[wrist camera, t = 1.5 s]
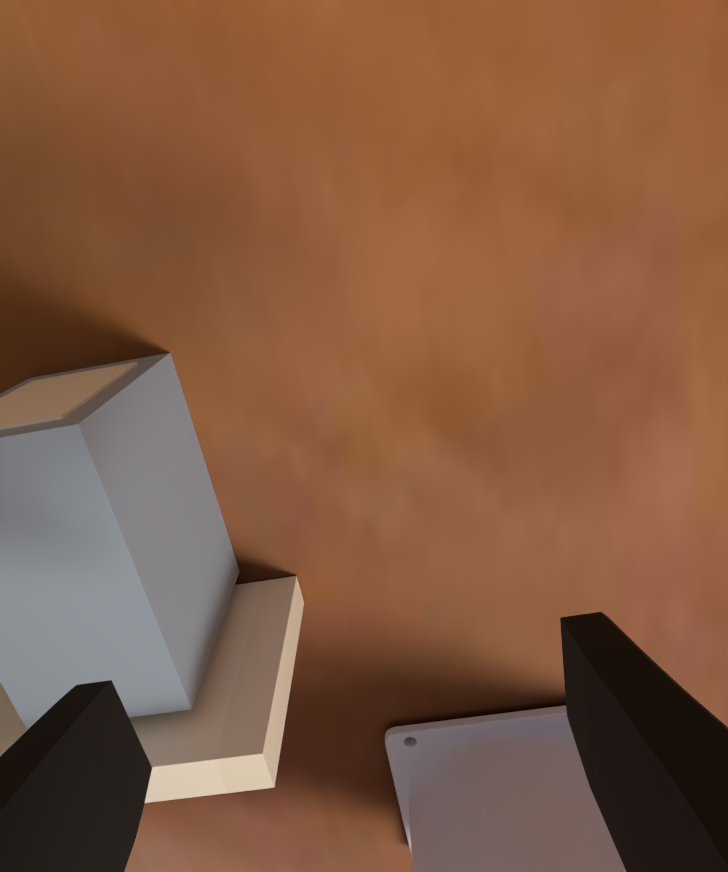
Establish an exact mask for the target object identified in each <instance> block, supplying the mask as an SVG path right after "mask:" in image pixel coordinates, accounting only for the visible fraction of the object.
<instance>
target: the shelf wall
mask: <svg viewBox="0 0 728 872" xmlns="http://www.w3.org/2000/svg"><path fill="white" fill-rule="evenodd" d="M303 607H304V601H303V597H302V594H301V590H300V586H299V583H298V579H297V576H292V577H286V578H279V579H272V580H265V581H258V582H252V583H245V584H238V585H235V586H234V589H233V592H232V595H231V598H230V601H229V604H228V607H227V609H226V612H225V615H224V618H223V621H222V624H221V627H220V630H219V633H218V635H217V638H216V641H215V644H214V647H213V650H212V653H211V656H210V659H209V661H208V664H207V667H206V670H205V673H204V676H203V679H202V682H201V685H200V687H199V690H198V693H197V696H196V699H195V702H194V705H193V708H192V709H191V710H183V711H176V712H168V713H160V714H153V715H145V716H138V717H130V718H129V719H130V721H131V723H132V725H133V727H134V730H135V732H136V734H137V736H138V738H139V740H140V743H141V745H142V747H143V749H144V751H145V753H146V756H147V758H148V760H149V762H150V764H151V766H152V771H151V776H150V780H149V785H148V789H147V794H146V798H145V803H149V802H157V801H166V800H174V799H182V798H191V797H199V796H208V795H216V794H224V793H233V792H241V791H250V790H258V789H266V788H275V781H276V775H277V769H278V763H279V756H280V750H281V744H282V738H283V731H284V725H285V719H286V713H287V707H288V700H289V694H290V688H291V682H292V675H293V669H294V663H295V657H296V650H297V644H298V638H299V632H300V625H301V619H302V613H303ZM26 731H27V729H26V727H25V725H24V724H23V722H22V720H21V718H20V716H19V715H18V713H17V711H16V709H15V707H14V706H13V704H12V702H11V700H10V698H9V697H8V695H7V693H6V691H5V689H4V688H3V686H2V684H1V682H0V756H1V755H2V754H3V753H4V752H5V751H6V750H7V749H8V748H9V747H10V746H12V745H13V744H14V743H15V742H16V741H17V740H18V739H19V738H20V737H21V736H22V735H23V734H24V733H25V732H26Z"/></svg>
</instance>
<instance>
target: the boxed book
mask: <svg viewBox="0 0 728 872" xmlns="http://www.w3.org/2000/svg"><path fill="white" fill-rule="evenodd" d="M239 572H240V571H239V568H238V565H237V561H236V558H235V555H234V552H233V549H232V546H231V542H230V539H229V536H228V533H227V530H226V527H225V524H224V520H223V517H222V514H221V511H220V508H219V505H218V502H217V498H216V495H215V492H214V489H213V486H212V483H211V479H210V476H209V473H208V470H207V467H206V464H205V461H204V457H203V454H202V451H201V448H200V445H199V442H198V438H197V435H196V432H195V429H194V426H193V423H192V420H191V416H190V413H189V410H188V407H187V404H186V401H185V398H184V394H183V391H182V388H181V385H180V382H179V379H178V375H177V372H176V369H175V366H174V363H173V360H172V357H171V353H165V354H160V355H154V356H149V357H143V358H138V359H132V360H127V361H121V362H116V363H110V364H105V365H99V366H93V367H88V368H82V369H77V370H71V371H66V372H60V373H55V374H49V375H44V376H38V377H33V378H29V379H27V380H25V381H23V382H21V383H19V384H17V385H15V386H13V387H12V388H10V389H8V390H6V391H4V392H2V393H0V682H1V684H2V686H3V688H4V689H5V691H6V693H7V695H8V697H9V698H10V700H11V702H12V704H13V706H14V707H15V709H16V711H17V713H18V715H19V716H20V718H21V720H22V722H23V724H24V725H25V727H26V729H27V730H28V729H29V728H30V727H31V726H32V725H33V724H34V723H35V722H36V721H37V720H38V719H39V718H41V717H42V716H43V715H44V714H45V713H46V712H47V711H48V710H49V709H50V708H51V707H52V706H53V705H54V704H55V703H56V702H58V701H59V700H60V699H61V698H62V697H63V696H64V695H65V694H66V693H68V692H69V691H70V690H71V689H72V688H73V687H74V686H76V685H80V684H87V683H94V682H101V681H108V680H112V682H113V684H114V687H115V689H116V691H117V693H118V695H119V697H120V699H121V702H122V704H123V706H124V708H125V710H126V712H127V715H128V717H129V718H130V717H138V716H145V715H153V714H160V713H168V712H176V711H183V710H191V709H192V708H193V705H194V702H195V699H196V696H197V693H198V690H199V687H200V685H201V682H202V679H203V676H204V673H205V670H206V667H207V664H208V661H209V659H210V656H211V653H212V650H213V647H214V644H215V641H216V638H217V635H218V633H219V630H220V627H221V624H222V621H223V618H224V615H225V612H226V609H227V607H228V604H229V601H230V598H231V595H232V592H233V589H234V586H235V583H236V581H237V578H238V575H239Z"/></svg>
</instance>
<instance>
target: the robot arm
mask: <svg viewBox="0 0 728 872" xmlns="http://www.w3.org/2000/svg"><path fill="white" fill-rule="evenodd" d="M560 620H561V635H562V650H563V665H564V679H565V694H566V705H564V706H556V707H548V708H540V709H532V710H524V711H516V712H508V713H500V714H492V715H484V716H476V717H469V718H461V719H453V720H445V721H437V722H429V723H421V724H413V725H405V726H397V727H392V728H390V729H389V730H387V731H386V733H385V746H386V750H387V755H388V759H389V763H390V767H391V772H392V776H393V780H394V785H395V789H396V793H397V797H398V802H399V806H400V810H401V814H402V819H403V823H404V827H405V832H406V836H407V840H408V844H409V849H410V853H411V857H412V868H413V872H728V727H727V726H725V725H724V724H723V723H722V722H721V721H720V720H718V719H717V718H716V717H715V716H714V715H713V714H712V713H710V712H709V711H708V710H707V709H706V708H705V707H703V706H702V705H701V704H700V703H699V702H698V701H697V700H695V699H694V698H693V697H692V696H691V695H690V694H689V693H688V692H686V691H685V690H684V689H683V688H682V687H681V686H680V685H679V684H678V683H677V682H675V681H674V680H673V679H672V678H671V677H670V676H669V675H668V674H667V673H666V672H665V671H664V670H662V669H661V668H660V667H659V666H658V665H657V664H656V663H655V662H654V661H653V660H652V659H651V658H650V657H649V656H648V655H647V654H645V653H644V652H643V651H642V650H641V649H640V648H639V647H638V646H637V645H636V644H635V643H634V642H633V641H632V640H631V639H630V638H629V637H628V636H627V635H626V634H625V633H624V632H623V631H622V630H621V629H620V628H619V627H618V626H617V625H616V624H615V623H614V622H613V621H612V620H611V619H610V618H609V617H607V616H606V615H605V614H603V613H602V612H598V613H590V614H583V615H576V616H569V617H562V618H560ZM408 737H412V738H408ZM151 771H152V766H151V764H150V762H149V760H148V758H147V756H146V753H145V751H144V749H143V747H142V745H141V743H140V740H139V738H138V736H137V734H136V732H135V730H134V727H133V725H132V723H131V721H130V719H129V717H128V715H127V712H126V710H125V708H124V706H123V704H122V702H121V699H120V697H119V695H118V693H117V691H116V689H115V687H114V684H113V682H112V680H108V681H101V682H94V683H87V684H80V685H76V686H74V687H73V688H72V689H71V690H70V691H69V692H68V693H66V694H65V695H64V696H63V697H62V698H61V699H60V700H59V701H58V702H56V703H55V704H54V705H53V706H52V707H51V708H50V709H49V710H48V711H47V712H46V713H45V714H44V715H43V716H42V717H41V718H39V719H38V720H37V721H36V722H35V723H34V724H33V725H32V726H31V727H30V728H29V729H28V730H27V731H26V732H25V733H24V734H23V735H22V736H21V737H20V738H19V739H18V740H17V741H16V742H15V743H14V744H13V745H12V746H10V747H9V748H8V749H7V750H6V751H5V752H4V753H3V754H2V755H1V756H0V872H124V870H125V867H126V865H127V862H128V859H129V856H130V853H131V850H132V847H133V844H134V841H135V838H136V834H137V831H138V827H139V823H140V819H141V815H142V811H143V807H144V803H145V798H146V794H147V789H148V785H149V780H150V776H151Z"/></svg>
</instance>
